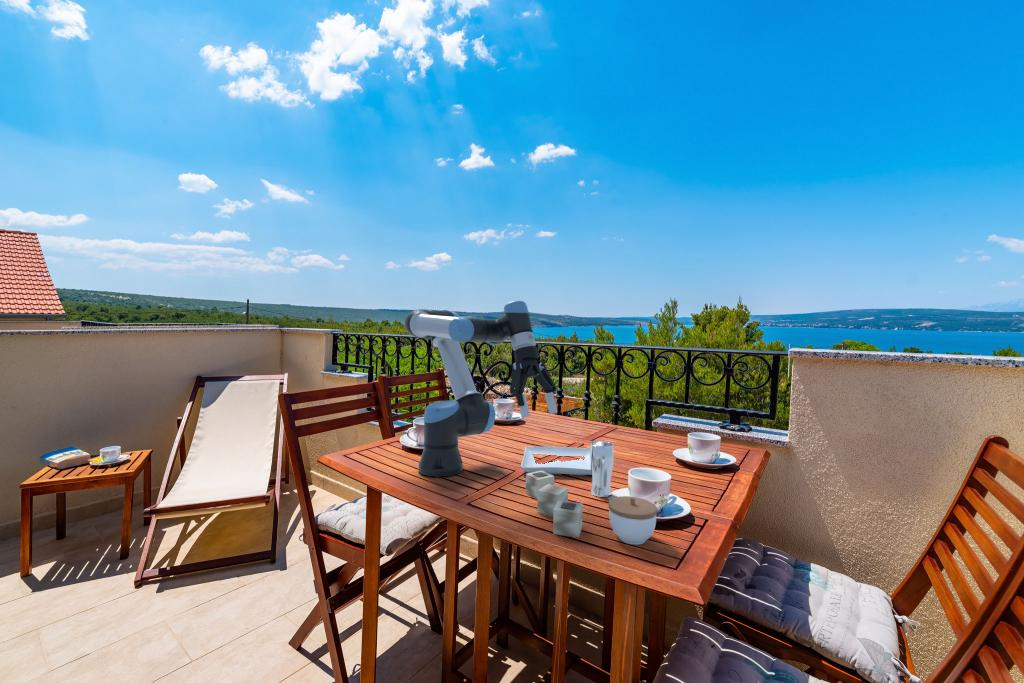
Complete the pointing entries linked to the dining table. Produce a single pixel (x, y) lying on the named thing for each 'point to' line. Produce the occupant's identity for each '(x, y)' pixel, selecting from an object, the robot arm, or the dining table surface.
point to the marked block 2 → (567, 518)
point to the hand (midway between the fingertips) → (540, 415)
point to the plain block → (550, 498)
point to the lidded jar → (632, 519)
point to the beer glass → (601, 467)
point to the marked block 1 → (537, 482)
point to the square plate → (558, 467)
